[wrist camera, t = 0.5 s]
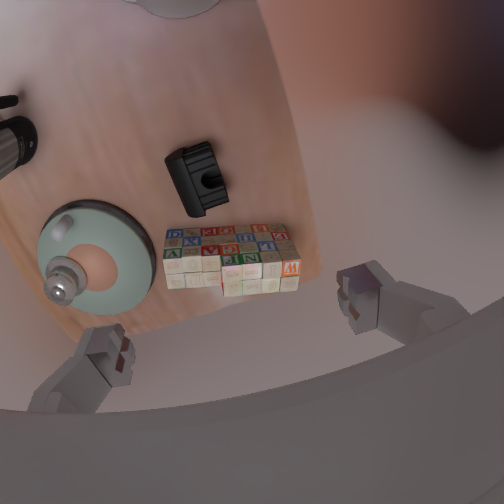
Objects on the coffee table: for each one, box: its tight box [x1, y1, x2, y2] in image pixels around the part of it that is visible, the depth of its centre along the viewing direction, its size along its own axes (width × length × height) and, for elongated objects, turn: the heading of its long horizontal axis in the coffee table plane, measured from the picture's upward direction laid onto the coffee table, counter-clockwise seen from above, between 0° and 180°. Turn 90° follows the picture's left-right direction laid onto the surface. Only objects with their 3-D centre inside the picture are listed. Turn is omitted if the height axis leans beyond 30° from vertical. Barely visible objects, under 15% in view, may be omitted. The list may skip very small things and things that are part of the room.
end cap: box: [165, 141, 229, 218], centre depth 45 cm, size 10×7×7 cm
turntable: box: [37, 207, 153, 315], centre depth 49 cm, size 24×24×6 cm
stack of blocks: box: [163, 224, 302, 297], centre depth 51 cm, size 21×6×12 cm, turn 88°
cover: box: [44, 256, 87, 306], centre depth 47 cm, size 9×9×6 cm
